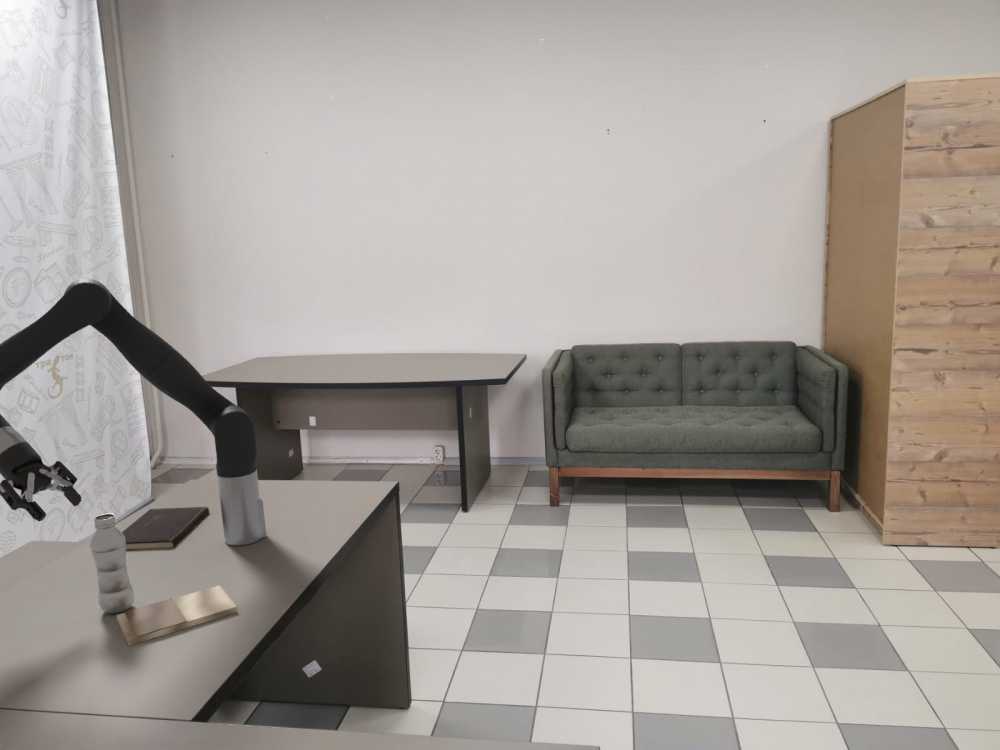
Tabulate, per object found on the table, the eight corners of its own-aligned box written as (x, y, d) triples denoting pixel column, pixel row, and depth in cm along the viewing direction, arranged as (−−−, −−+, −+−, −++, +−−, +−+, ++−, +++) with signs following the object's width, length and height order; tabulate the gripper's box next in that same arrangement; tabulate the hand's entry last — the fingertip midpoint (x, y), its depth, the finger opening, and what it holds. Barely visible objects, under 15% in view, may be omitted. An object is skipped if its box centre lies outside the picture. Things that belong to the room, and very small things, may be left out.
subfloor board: (220, 590, 166) (219, 584, 165) (237, 611, 156) (236, 605, 156) (117, 620, 155) (116, 614, 154) (128, 645, 145) (127, 639, 145)
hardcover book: (109, 552, 190) (107, 543, 189) (151, 516, 212) (150, 508, 212) (174, 549, 190) (173, 540, 189) (209, 514, 212) (208, 506, 212)
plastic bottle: (122, 618, 155) (108, 523, 151) (92, 616, 157) (78, 522, 153) (143, 603, 162) (130, 511, 158) (114, 601, 163) (100, 510, 159)
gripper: (-15, 451, 152) (38, 512, 151) (47, 432, 166) (97, 487, 164) (-30, 476, 155) (22, 535, 154) (33, 455, 168) (81, 509, 167)
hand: (61, 510), depth 159 cm, fingers open, 8 cm apart
